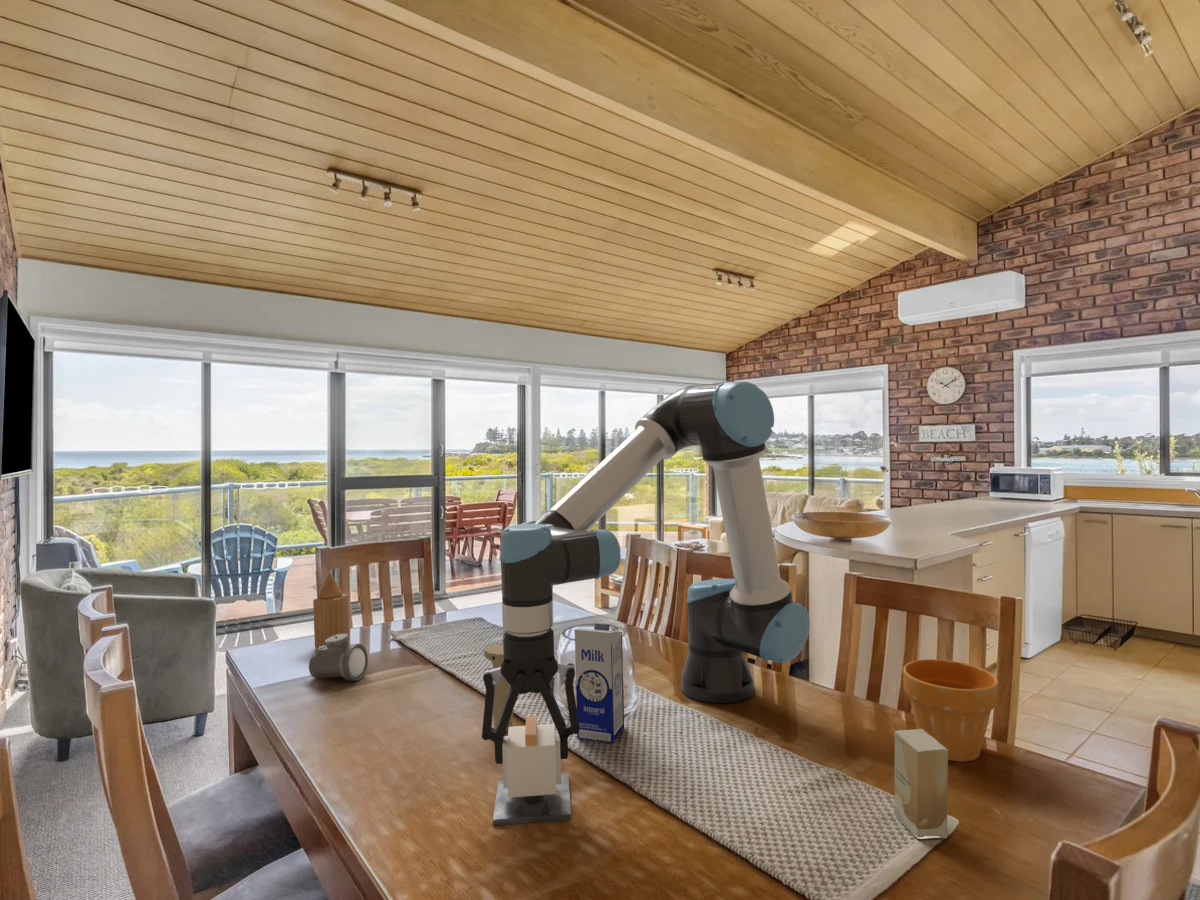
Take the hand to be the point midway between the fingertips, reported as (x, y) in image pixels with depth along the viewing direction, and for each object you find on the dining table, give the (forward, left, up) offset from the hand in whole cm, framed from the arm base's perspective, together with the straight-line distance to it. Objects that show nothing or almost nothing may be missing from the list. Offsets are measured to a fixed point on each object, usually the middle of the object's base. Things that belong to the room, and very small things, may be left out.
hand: (532, 781), depth 99 cm
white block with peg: (0, 0, 0) cm, 0 cm away
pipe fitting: (+46, -57, -3) cm, 73 cm away
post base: (0, 0, -3) cm, 3 cm away
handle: (+6, -25, -3) cm, 26 cm away
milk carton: (-12, -21, -3) cm, 24 cm away
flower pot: (-70, -7, -3) cm, 70 cm away
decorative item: (+55, -82, -3) cm, 99 cm away
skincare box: (-53, +13, -3) cm, 55 cm away
